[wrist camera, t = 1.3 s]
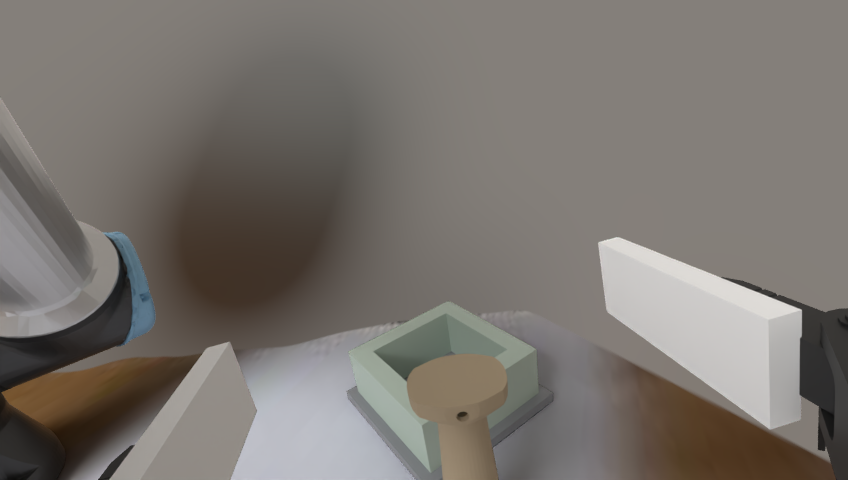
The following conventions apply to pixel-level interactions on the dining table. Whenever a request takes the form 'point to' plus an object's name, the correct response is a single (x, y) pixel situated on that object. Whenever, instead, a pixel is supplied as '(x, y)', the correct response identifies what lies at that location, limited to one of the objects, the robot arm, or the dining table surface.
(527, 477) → the dining table surface
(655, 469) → the dining table surface
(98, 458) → the dining table surface
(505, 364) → the holder
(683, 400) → the dining table surface
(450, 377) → the handle
